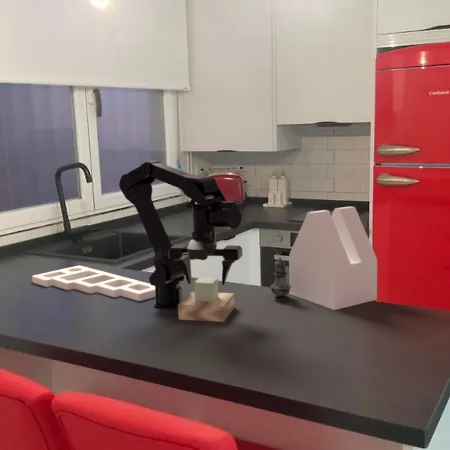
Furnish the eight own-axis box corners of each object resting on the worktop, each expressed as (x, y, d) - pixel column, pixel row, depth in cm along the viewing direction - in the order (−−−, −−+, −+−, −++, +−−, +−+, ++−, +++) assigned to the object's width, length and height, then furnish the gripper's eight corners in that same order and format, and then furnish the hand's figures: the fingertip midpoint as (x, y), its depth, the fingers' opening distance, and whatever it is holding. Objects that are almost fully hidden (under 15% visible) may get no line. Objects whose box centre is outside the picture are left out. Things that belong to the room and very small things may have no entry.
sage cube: (194, 301, 163) (194, 282, 162) (200, 295, 168) (199, 277, 167) (213, 301, 162) (212, 283, 161) (218, 296, 167) (217, 278, 166)
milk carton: (376, 299, 173) (377, 210, 168) (334, 310, 165) (334, 216, 160) (330, 285, 189) (329, 203, 185) (289, 294, 181) (288, 208, 177)
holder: (163, 296, 185) (163, 287, 184) (113, 310, 172) (112, 301, 172) (80, 272, 216) (79, 265, 216) (32, 283, 204) (31, 275, 203)
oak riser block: (178, 319, 161) (178, 304, 161) (192, 305, 173) (191, 291, 172) (223, 321, 158) (223, 306, 158) (234, 307, 170) (234, 293, 169)
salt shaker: (274, 302, 173) (273, 260, 171) (267, 296, 179) (266, 255, 176) (294, 300, 174) (293, 258, 172) (286, 294, 180) (286, 254, 178)
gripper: (159, 231, 156) (162, 291, 159) (232, 232, 151) (234, 294, 154) (173, 223, 167) (176, 280, 169) (242, 224, 162) (243, 282, 165)
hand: (206, 284), depth 164 cm, fingers open, 9 cm apart
